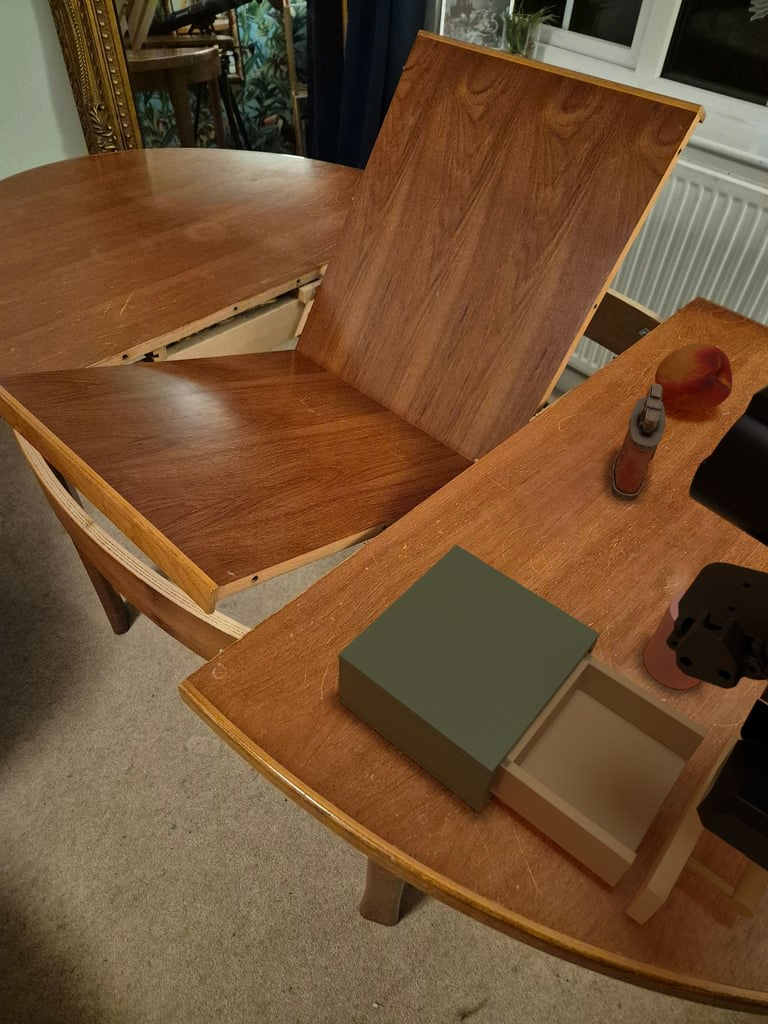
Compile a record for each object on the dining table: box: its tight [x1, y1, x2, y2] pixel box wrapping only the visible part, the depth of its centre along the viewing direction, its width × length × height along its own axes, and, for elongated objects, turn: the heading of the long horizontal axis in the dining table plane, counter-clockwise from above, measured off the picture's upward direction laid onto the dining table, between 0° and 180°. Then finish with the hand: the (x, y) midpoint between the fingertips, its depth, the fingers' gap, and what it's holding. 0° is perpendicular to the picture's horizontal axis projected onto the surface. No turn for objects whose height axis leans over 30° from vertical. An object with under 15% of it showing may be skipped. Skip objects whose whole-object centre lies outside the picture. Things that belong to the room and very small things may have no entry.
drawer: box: [489, 653, 768, 926], centre depth 51 cm, size 17×13×5 cm
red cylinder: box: [643, 590, 701, 690], centre depth 60 cm, size 5×5×7 cm
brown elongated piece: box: [610, 382, 666, 502], centre depth 76 cm, size 8×3×10 cm, turn 161°
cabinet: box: [338, 544, 600, 813], centre depth 58 cm, size 14×15×7 cm
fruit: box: [654, 343, 733, 413], centre depth 86 cm, size 8×8×8 cm
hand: (764, 782), depth 43 cm, fingers closed
